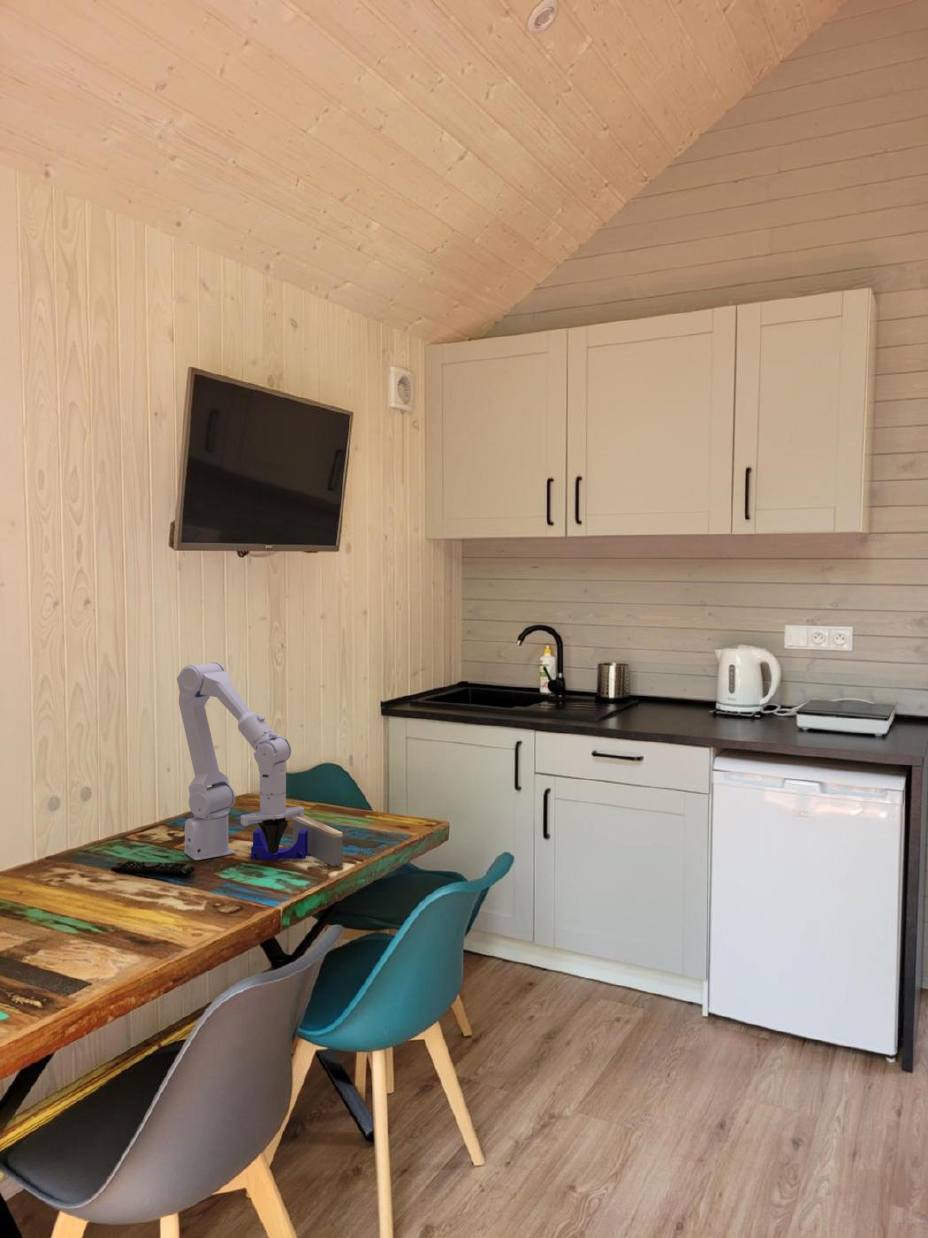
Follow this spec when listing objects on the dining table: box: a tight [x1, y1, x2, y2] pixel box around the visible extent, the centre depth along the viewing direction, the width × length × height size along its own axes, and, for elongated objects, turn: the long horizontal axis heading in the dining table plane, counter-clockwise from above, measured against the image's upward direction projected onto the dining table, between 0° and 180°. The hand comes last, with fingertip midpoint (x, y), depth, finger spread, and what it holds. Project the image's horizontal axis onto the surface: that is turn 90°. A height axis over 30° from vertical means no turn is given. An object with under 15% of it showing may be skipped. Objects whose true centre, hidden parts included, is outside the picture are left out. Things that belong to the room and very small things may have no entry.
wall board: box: [292, 814, 344, 867], centre depth 217 cm, size 2×20×7 cm, turn 36°
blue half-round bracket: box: [250, 828, 309, 861], centre depth 215 cm, size 12×4×6 cm, turn 87°
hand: (273, 852), depth 210 cm, fingers closed
